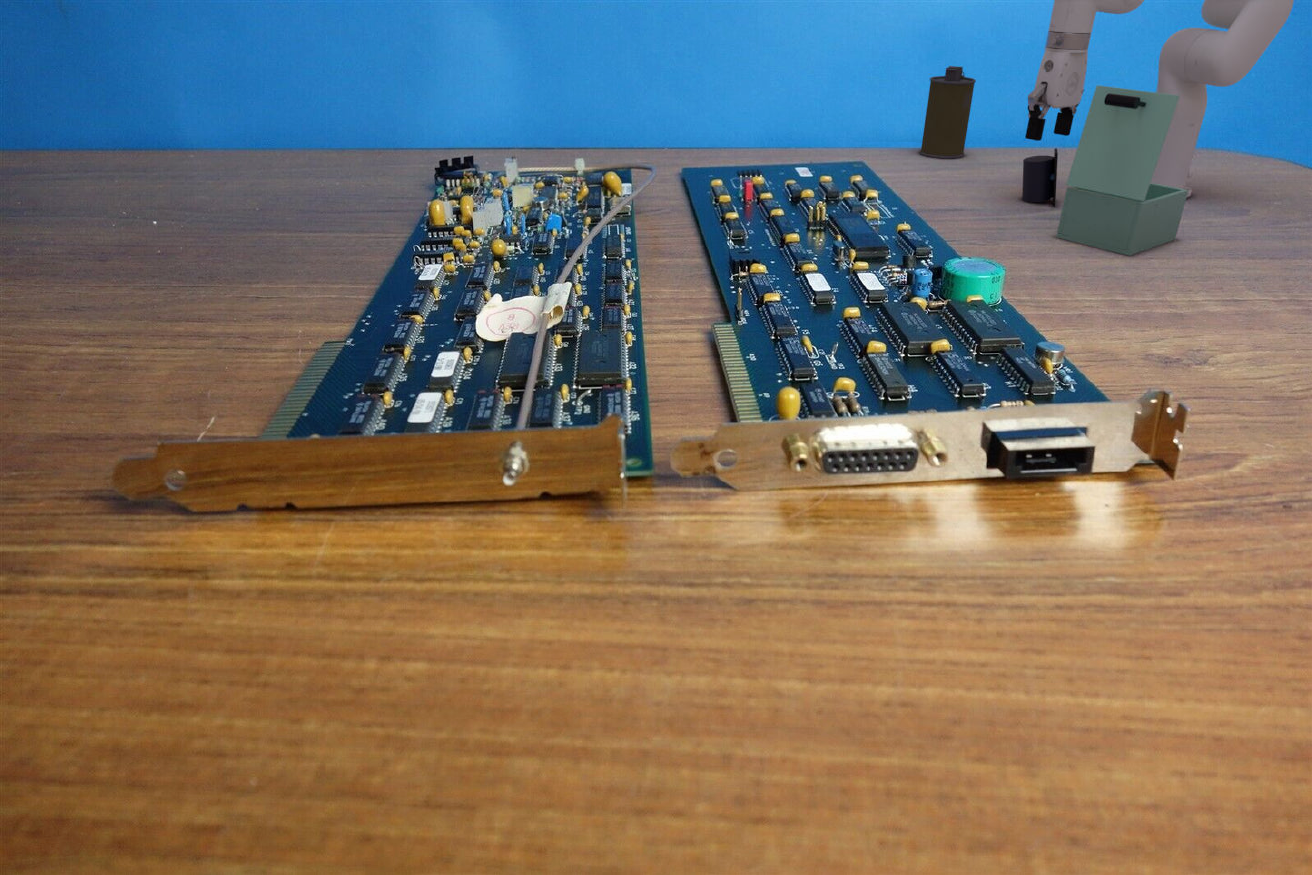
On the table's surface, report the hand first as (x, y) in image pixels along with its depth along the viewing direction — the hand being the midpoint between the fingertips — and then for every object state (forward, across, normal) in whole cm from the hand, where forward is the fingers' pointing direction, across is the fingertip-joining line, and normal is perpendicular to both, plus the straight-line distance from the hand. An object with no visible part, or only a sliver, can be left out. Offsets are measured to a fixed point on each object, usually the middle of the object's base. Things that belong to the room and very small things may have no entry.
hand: (1047, 137), depth 182 cm
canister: (+13, +23, +40) cm, 47 cm away
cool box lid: (-5, -18, -24) cm, 30 cm away
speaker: (+13, 0, 0) cm, 13 cm away
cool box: (+13, -12, -24) cm, 29 cm away
